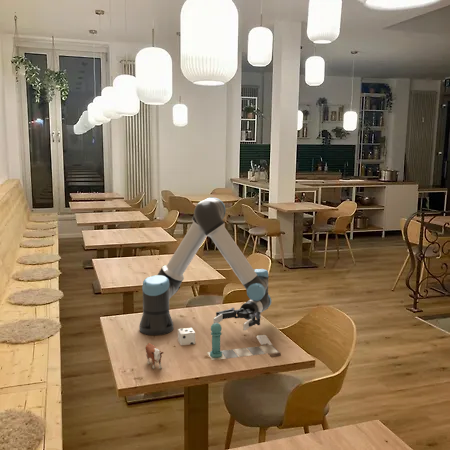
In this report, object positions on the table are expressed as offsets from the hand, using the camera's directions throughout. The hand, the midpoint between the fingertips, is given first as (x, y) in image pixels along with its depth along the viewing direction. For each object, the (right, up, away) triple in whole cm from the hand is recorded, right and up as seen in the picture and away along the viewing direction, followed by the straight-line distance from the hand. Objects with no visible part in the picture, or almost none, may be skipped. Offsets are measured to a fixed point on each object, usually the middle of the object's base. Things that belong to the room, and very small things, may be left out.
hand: (229, 324), depth 198 cm
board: (+5, -11, -4) cm, 13 cm away
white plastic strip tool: (+15, -10, +9) cm, 20 cm away
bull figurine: (-28, -13, -14) cm, 34 cm away
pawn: (-5, -11, -7) cm, 14 cm away
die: (-18, -10, +6) cm, 21 cm away
